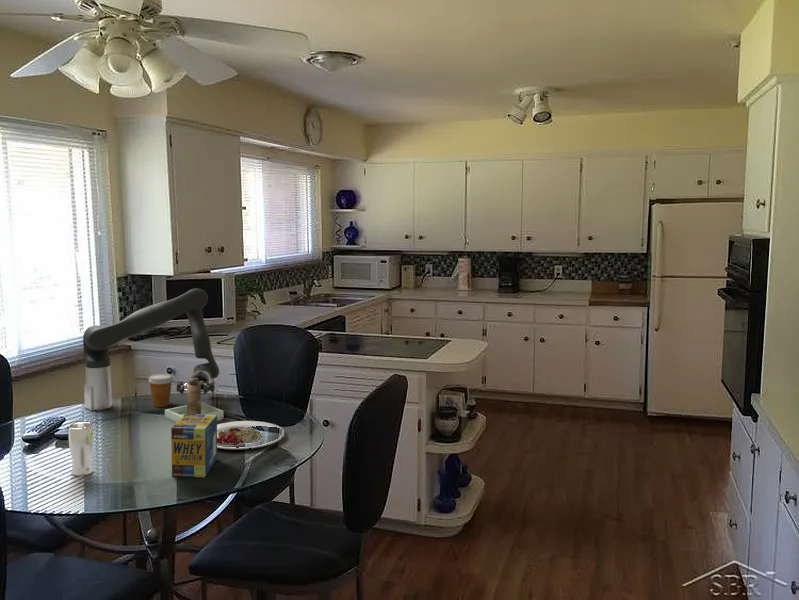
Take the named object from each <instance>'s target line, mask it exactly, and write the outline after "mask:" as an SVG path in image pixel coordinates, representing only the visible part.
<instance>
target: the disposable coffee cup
mask: <svg viewBox="0 0 799 600" xmlns="http://www.w3.org/2000/svg"><path fill="white" fill-rule="evenodd" d="M173 380H174V378H173V377H172V375H171V374H168V373H157V374H152V375H150V376H149V378H148V383H149V386H150V394H151V399H152V400H151V401H152V406H153V407H157V408H163V407H168V406H169V405H170V402H171V401H170V398H171V389H172V382H173Z"/></svg>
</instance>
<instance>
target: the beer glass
mask: <svg viewBox="0 0 799 600" xmlns="http://www.w3.org/2000/svg"><path fill="white" fill-rule="evenodd" d="M94 438H95V436H94V425H93V423H91V422H88V421H87V422H86V421H81V422H75V423H72V424H70V425H69V426H68V447H69V450H70V451H69V452H70V455H71V460H72V468H71V475H72V476H74V475H76V476H75V477H83V476H88V475H90V474H92V473H93V472H94V469H93V463H92V458H93V457H92V456H93V452H94V451H93V450H94V442H95V441H94V440H95V439H94Z"/></svg>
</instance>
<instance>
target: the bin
mask: <svg viewBox="0 0 799 600" xmlns="http://www.w3.org/2000/svg"><path fill="white" fill-rule="evenodd" d="M185 414H187V404H185V405H180V406H176V407H173V408H172V407H171V408H166V409H164V419H165V420H168V421H170V422H172V423H173V424H176V423H177V422H178V421H179V420H180V419H181V418H182V417H183V416H184V415H185ZM201 414H206V415H217V422H218V421H223V420H224V410H223V409H221V408H218V407H215V406H212V405H210V404H207V403H205V402H202V401H201ZM222 419H223V420H222Z"/></svg>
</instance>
